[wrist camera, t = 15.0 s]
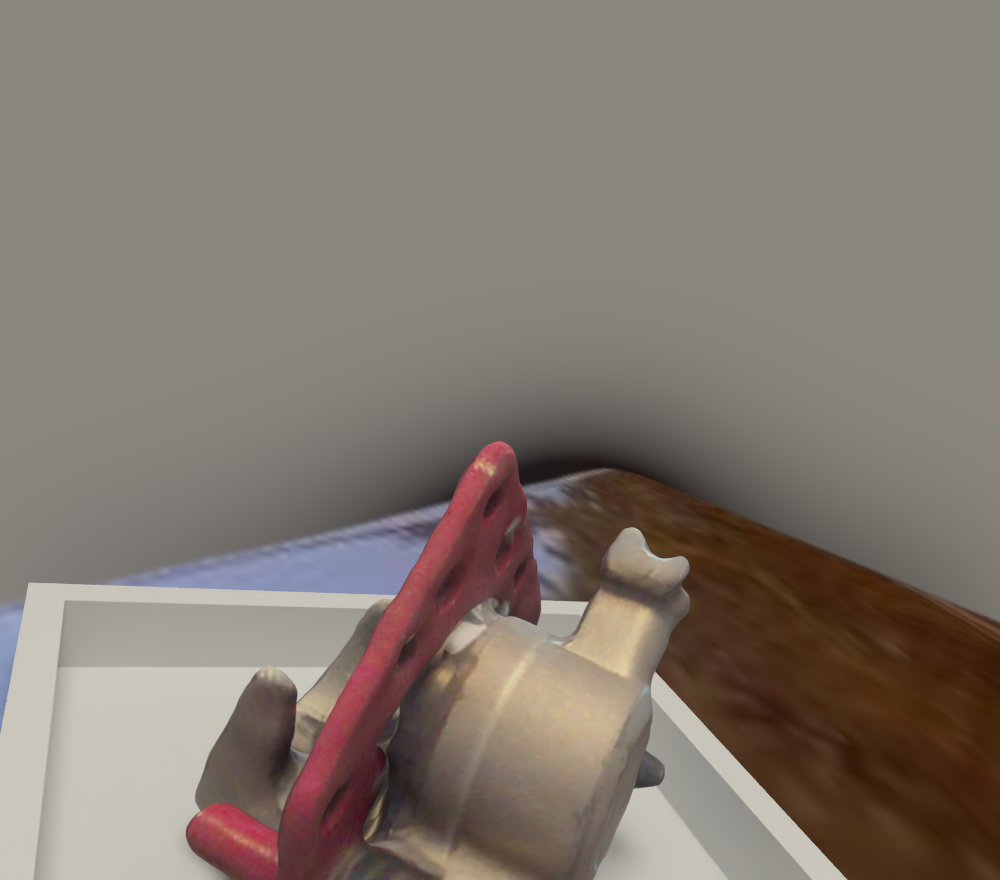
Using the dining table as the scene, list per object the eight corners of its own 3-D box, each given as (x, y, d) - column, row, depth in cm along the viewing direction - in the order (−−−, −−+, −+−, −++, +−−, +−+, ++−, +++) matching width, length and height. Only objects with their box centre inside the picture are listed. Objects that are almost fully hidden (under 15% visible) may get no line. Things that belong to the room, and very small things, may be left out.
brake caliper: (316, 605, 29) (609, 382, 24) (517, 909, 28) (869, 739, 23) (-6, 788, 19) (393, 462, 14) (293, 1281, 18) (844, 1119, 13)
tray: (571, 671, 36) (590, 602, 35) (965, 1178, 19) (1020, 1067, 18) (20, 672, 28) (28, 582, 27) (-131, 1534, 11) (-120, 1366, 10)
